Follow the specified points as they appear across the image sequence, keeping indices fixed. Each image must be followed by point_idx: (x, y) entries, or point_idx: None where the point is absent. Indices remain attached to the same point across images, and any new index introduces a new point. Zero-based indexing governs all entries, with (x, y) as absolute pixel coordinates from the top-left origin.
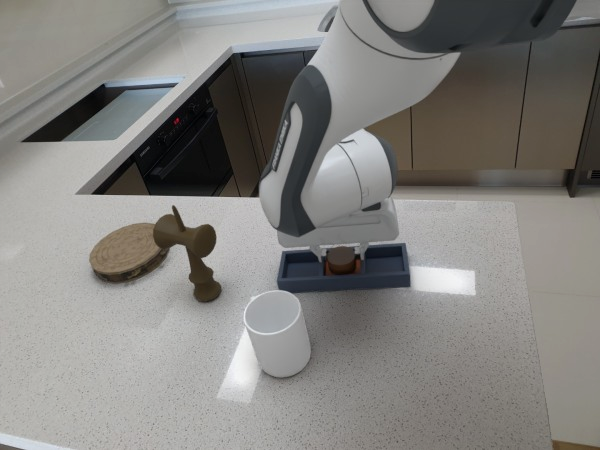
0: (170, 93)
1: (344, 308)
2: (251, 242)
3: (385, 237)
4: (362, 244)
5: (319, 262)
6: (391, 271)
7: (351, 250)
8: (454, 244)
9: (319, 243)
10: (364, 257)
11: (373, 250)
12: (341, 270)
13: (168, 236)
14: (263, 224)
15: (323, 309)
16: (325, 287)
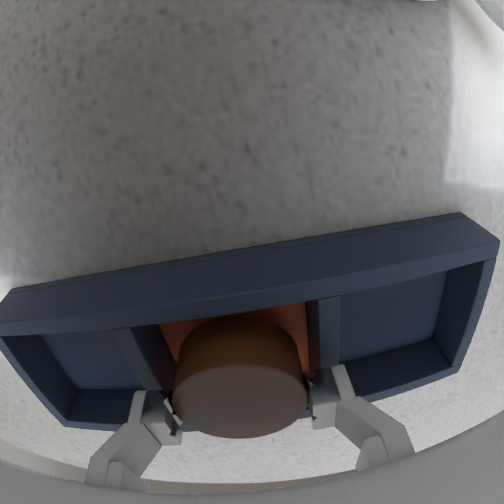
0: None
1: (188, 150)
2: (488, 369)
3: (5, 483)
4: (114, 469)
5: (341, 364)
6: (74, 343)
7: (200, 427)
8: (12, 400)
9: (361, 491)
10: None
11: None
12: (226, 338)
13: None
14: (454, 412)
15: (288, 132)
16: (298, 250)
